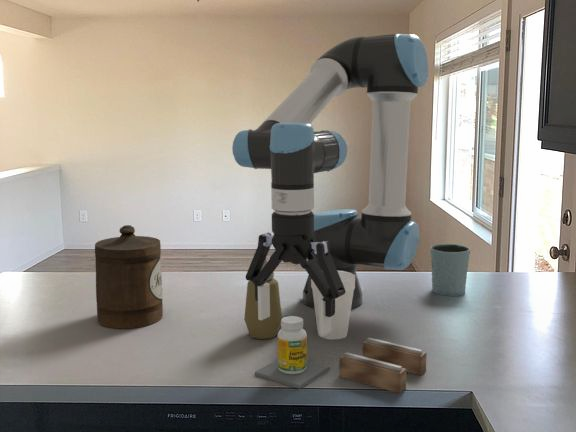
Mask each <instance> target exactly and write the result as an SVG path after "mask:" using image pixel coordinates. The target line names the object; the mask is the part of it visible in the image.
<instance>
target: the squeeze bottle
mask: <svg viewBox="0 0 576 432" xmlns="http://www.w3.org/2000/svg"><path fill="white" fill-rule="evenodd" d="M267 262H268V259H267V257H266V259H265V261H264V264H263V266H262V268H261V270H262V269H263V267H264V266H265V265H266V263H267ZM274 271H275V270H274ZM274 271H273V273H272V274H271V275H270V276H269V278H268V279H267V280H268V281H267V280H266V282H264V284H265V283H269V284H270V317H268V318H266V319H263V320H258V301H256V299H255V285H254V283H253V282H252V281H250V280H249V281H248V280H247V287H246V295H245V296H246V297H245V307H244V318H243V319H244V323H245V326H246V328H247V332H248V334H249V336H250V337H251V338H253V339H260V340H266V339H272V338H274V337H276V336H277V335H278V332H279V329H280V326H281V319H282V318H283V315H282V308H281V307H282V305H281V297H280V286H279V282H278V280H276V279H275V278H274V277H275V272H274Z"/></svg>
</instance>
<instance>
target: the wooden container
mask: <svg viewBox="0 0 576 432" xmlns="http://www.w3.org/2000/svg"><path fill="white" fill-rule="evenodd" d="M135 232H136V229H135V227H134V226H132V225H129V224H128V225H123V226H121V227H120V228H119V233H120V236H116V237H115V236H114V237H110V238H104V239H101V240H98V241H96V242H95V244H94V256H95V295H96V296H95V299H96V316H97V317H96V318H97V323H99V324H100V326H104V327H106V328H112V329H122V330H123V329H125V330H126V329H136V328H143V327H147V326H150V325H152V324H155V323H157V322H159V321H160V320H161V319H162V318H163V316H164V314H163V313H164V312H163V311H164V310H163V308H164V307H163V279H162V277H163V276H162V260H161V257H162V256H161V254H162V253H161V240H160V239H158V238H157V237H152V236H143V235H141V236H140V235H136V234H135Z"/></svg>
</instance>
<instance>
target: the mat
mask: <svg viewBox="0 0 576 432" xmlns="http://www.w3.org/2000/svg"><path fill="white" fill-rule="evenodd" d="M330 368H331V366H330V365H328V364H327V365H326V364H324V363H319V362H315V361H312V360H309V359H307V368H306V370H305V371H304V372H302V373H300V374H285V373H282V372H281V371H279V369H278V358H277V359H274V360H273V361H271V362H269V363H267V364H266V365H264V366H262V367H261V368H258V369H257V370H255V371H254V376H257V377H260V378H264V379H266V380H270V381H274V382H277V383H280V384H283V385H286V386H290V387H292V388H296V389H302V388H304V387H305V386H306V385H309V383H311V382H313V381H314V380H315V379H317V378H319V377H320V376H322V375H323V374H325V373H326V372H329V371H330V370H331V369H330Z"/></svg>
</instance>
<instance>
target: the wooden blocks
mask: <svg viewBox="0 0 576 432" xmlns="http://www.w3.org/2000/svg"><path fill="white" fill-rule="evenodd" d="M427 358H428V357H427V351H423V349H420V348H415V347H412V346H411V347H410V346H407V345H402V344H398V343H393V342H389V341H387V340H386V341H385V340H382V339H376V338H372V337H368V338H366V340H364V341H363V342H362V355H359V354H354V353H350V352H348V351H347V352H345V353H344V354H343V355H341V356H340V357H338V359H339V360H338V361H339V364H338V365H339V366H338V367H339V368H338V369H339V371H338V372H339V373H338V375H339V377H341V378H344V379H348V380H352V381H355V382H358V383H362V384H365V385H369V386H372V387H375V388H379V389H383V390H386V391H390V392H394V393H396V394H401V393H403V392H404V390H406V388H407V373H410V374H414V375H418V376H422V375H423V374H424V373H425V372H426V371H427Z"/></svg>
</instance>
